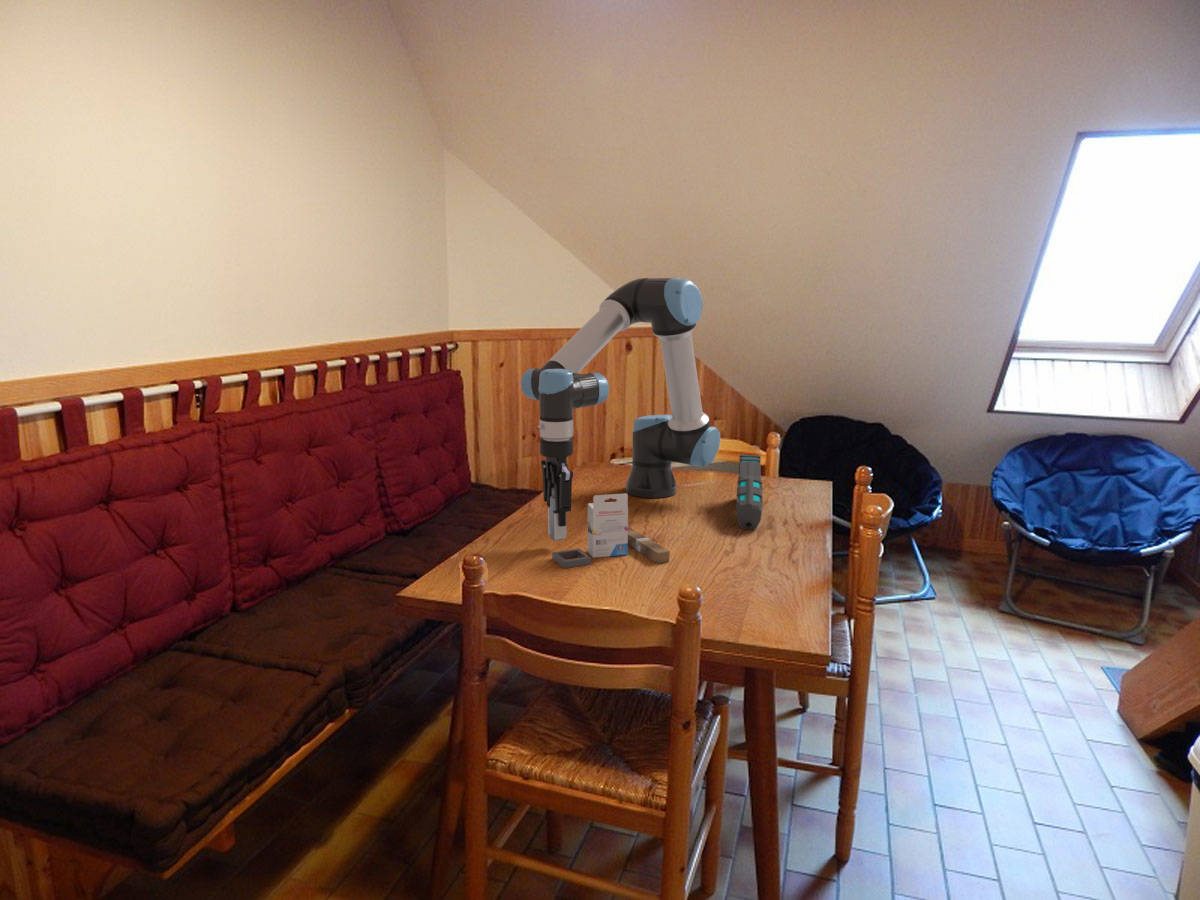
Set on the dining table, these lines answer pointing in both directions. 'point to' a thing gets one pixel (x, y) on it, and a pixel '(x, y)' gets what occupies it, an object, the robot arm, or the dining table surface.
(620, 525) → the ink box
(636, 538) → the grey-brown long bar
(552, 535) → the blue bottle
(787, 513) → the dining table surface
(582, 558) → the holder
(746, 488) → the gun
